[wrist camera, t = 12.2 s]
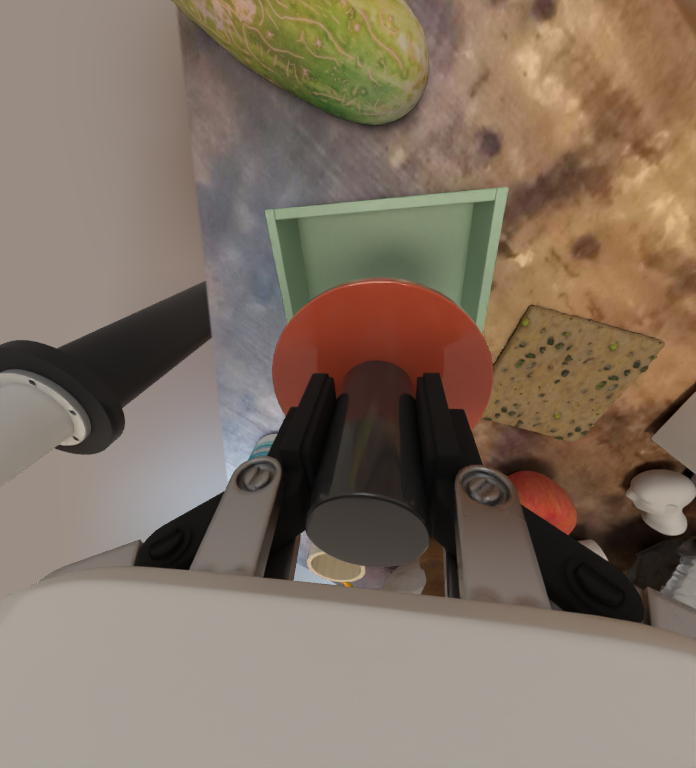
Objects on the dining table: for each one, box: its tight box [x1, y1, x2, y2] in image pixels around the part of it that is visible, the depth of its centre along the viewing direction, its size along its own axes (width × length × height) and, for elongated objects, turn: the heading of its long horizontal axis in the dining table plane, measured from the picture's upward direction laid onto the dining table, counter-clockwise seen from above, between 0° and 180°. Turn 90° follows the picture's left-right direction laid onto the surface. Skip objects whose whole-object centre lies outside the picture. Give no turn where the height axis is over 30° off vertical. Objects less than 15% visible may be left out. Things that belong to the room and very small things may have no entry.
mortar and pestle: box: [419, 535, 445, 597], centre depth 27 cm, size 7×6×18 cm
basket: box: [265, 187, 508, 335], centre depth 23 cm, size 14×13×6 cm
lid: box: [272, 277, 493, 567], centre depth 10 cm, size 9×9×7 cm
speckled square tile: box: [481, 305, 665, 442], centre depth 27 cm, size 12×12×1 cm
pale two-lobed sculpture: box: [626, 469, 696, 536], centre depth 32 cm, size 4×8×5 cm
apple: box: [507, 470, 577, 535], centre depth 32 cm, size 7×7×8 cm
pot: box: [307, 541, 366, 582], centre depth 43 cm, size 8×8×6 cm
